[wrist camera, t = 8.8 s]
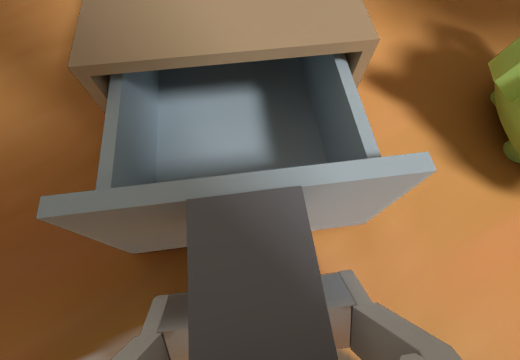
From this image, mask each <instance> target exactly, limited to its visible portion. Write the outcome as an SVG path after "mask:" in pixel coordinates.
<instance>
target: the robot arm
mask: <svg viewBox="0 0 520 360" xmlns="http://www.w3.org/2000/svg"><path fill="white" fill-rule="evenodd" d="M320 276H321V280H322V285H323V290H324V295H325V300H326V304H327V309H328V314H329V319H330V323H331V328H332V333H333V338H334V342H335V347H336V349H343V348H351V350H352V351H353V352H354V353H355V354H356V355H357V356H359V357H360V358H361V359H362V360H462V359H461V358H460V357H459V355H458V354H457V353H456V352H455V350H454V349H453V348H452V347H451V346H449V345H448V344H446V343H444V342H443V341H441V340H439V339H438V338H436V337H434V336H433V335H431V334H429V333H428V332H426V331H424V330H423V329H421V328H419V327H417V326H416V325H414V324H412V323H411V322H409V321H407V320H406V319H404V318H402V317H401V316H399V315H397V314H396V313H394V312H392V311H390V310H389V309H387V308H385V307H384V306H382V305H380V304H379V303H373V302H372V301H371V299H370V298H369V296H368V294H367V293H366V291H365V290H364V288H363V287H362V285H361V283H360V282H359V280H358V279H357V277H356V275H355V274H354V272H353V271H352V270H345V271H339V272H333V273H326V274H320ZM111 360H189V338H188V292H182V293H173V294H167V295H157V296H155V298H154V299H153V301H152V303H151V306H150V309H149V311H148V314H147V317H146V320H145V322H144V325H143V328H142V330H141V333H140V336H136V337H134V338H133V339H132V340H131V341H130V342H129V343H128V344H127V345H126V346H125V347H124V348H122V349H121V350H120V351H119V352H118V353H117V354H116V355H115V356H114V357H113V358H112V359H111Z"/></svg>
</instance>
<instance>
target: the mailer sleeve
mask: <svg viewBox="0 0 520 360" xmlns="http://www.w3.org/2000/svg"><path fill="white" fill-rule="evenodd" d="M379 40H380V38H379V36H378V34H377V32H376V29H375V27H374V25H373V23H372V20H371V18H370V16H369V14H368V12H367V9H366V7H365V5H364V3H363V0H82V4H81V8H80V13H79V17H78V22H77V26H76V31H75V35H74V39H73V44H72V48H71V53H70V57H69V62H68V66H67V67H68V69H69V70H70V71H71V72H72V73H73V75H74V76H75V77H76V78H77V80H78V81H79V82H80V83H81V84H82V86H83V87H84V88H85V89H86V91H87V92H88V93H89V94H90V95H91V97H92V98H93V99H94V100H95V101H96V103H97V104H98V105H99V106H100V108H101V109H102V110H103V111H104V112H105V114H106V106H107V98H108V91H109V83H110V76H111V74H121V73H132V72H143V71H154V70H164V69H175V68H186V67H197V66H208V65H219V64H230V63H240V62H251V61H262V60H273V59H284V58H295V57H306V56H317V55H327V54H338V53H344V55H345V57H346V60H347V63H348V66H349V69H350V71H351V74H352V77H353V80H354V82H355V85H356V88H358V85H359V83H360V81H361V79H362V77H363V75H364V72H365V70H366V68H367V66H368V64H369V62H370V59H371V57H372V55H373V53H374V51H375V49H376V46H377V44H378V42H379Z"/></svg>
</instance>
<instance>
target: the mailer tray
mask: <svg viewBox="0 0 520 360" xmlns="http://www.w3.org/2000/svg"><path fill="white" fill-rule="evenodd" d="M436 171H437V170H436V168H435V165H434V163H433V161H432V159H431V156H430V154H429V152H421V153H412V154H404V155H395V156H386V157H381V155H380V152H379V149H378V146H377V144H376V141H375V138H374V135H373V133H372V130H371V127H370V124H369V121H368V119H367V116H366V113H365V110H364V107H363V105H362V102H361V99H360V96H359V94H358V91H357V88H356V85H355V82H354V80H353V77H352V74H351V71H350V69H349V66H348V63H347V60H346V57H345V55H344V53H338V54H327V55H317V56H306V57H295V58H284V59H273V60H262V61H251V62H240V63H230V64H219V65H208V66H197V67H186V68H175V69H164V70H154V71H143V72H132V73H121V74H111V76H110V83H109V91H108V98H107V106H106V114H105V121H104V129H103V136H102V144H101V151H100V159H99V167H98V174H97V182H96V189H95V190H91V191H82V192H73V193H65V194H56V195H47V196H41V197H40V202H39V207H38V211H37V216H36V219H38V220H41V221H44V222H47V223H49V224H52V225H55V226H57V227H60V228H63V229H66V230H68V231H71V232H74V233H76V234H79V235H82V236H85V237H87V238H90V239H93V240H95V241H98V242H101V243H104V244H106V245H109V246H112V247H114V248H117V249H120V250H123V251H125V252H128V253H131V254H135V253H143V252H151V251H159V250H166V249H174V248H182V247H187V280H188V338H189V360H338V357H337V352H336V347H335V342H334V338H333V333H332V328H331V323H330V319H329V314H328V309H327V304H326V300H325V295H324V290H323V285H322V280H321V276H320V271H319V266H318V261H317V257H316V252H315V247H314V242H313V238H312V233H311V231H314V230H321V229H329V228H337V227H345V226H352V225H360V224H365V223H366V222H367V221H369V220H370V219H372V218H373V217H374V216H376V215H377V214H378V213H380V212H381V211H382V210H384V209H385V208H387V207H388V206H389V205H391V204H392V203H393V202H395V201H396V200H397V199H399V198H400V197H402V196H403V195H404V194H406V193H407V192H408V191H410V190H411V189H413V188H414V187H415V186H417V185H418V184H419V183H421V182H422V181H423V180H425V179H426V178H428V177H429V176H430V175H432V174H433V173H434V172H436Z"/></svg>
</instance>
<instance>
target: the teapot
mask: <svg viewBox="0 0 520 360" xmlns="http://www.w3.org/2000/svg"><path fill="white" fill-rule="evenodd" d="M488 66H489V69H490V72H491V75H492V78H493V81H494V83H495V91H493V92H492V93H491V94H490V100H491V102H492V103H493V104H494V105H495V106H496V109H497V113H498V116H499V119H500V121H501V124H502V126H503V128H504V130H505V133H506V135H507V137H508V139H509V141H507V142H505V143H504V145H503V151H504V153H505V155H506V156H507V157H508V158H509V159H510V160H512V161H513V162H516V163H519V164H520V37H519V38H518V39H517V40H515V41H514V42H513V43H512V44H510V45H509V46H508V47H507V48H506V49H504V50H503V51H502V52H501V53H499V54H498V55H497V56H496V57H494V58H493V59H492V60H491V61H490V62H488Z"/></svg>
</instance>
